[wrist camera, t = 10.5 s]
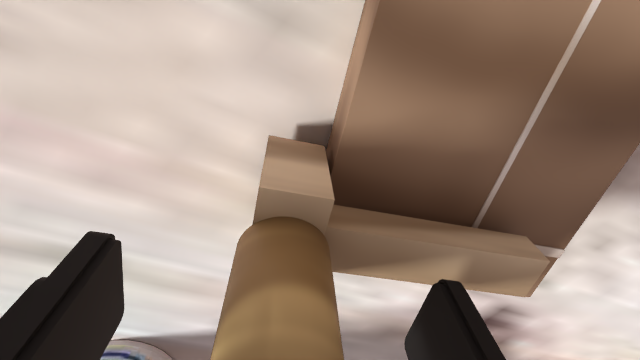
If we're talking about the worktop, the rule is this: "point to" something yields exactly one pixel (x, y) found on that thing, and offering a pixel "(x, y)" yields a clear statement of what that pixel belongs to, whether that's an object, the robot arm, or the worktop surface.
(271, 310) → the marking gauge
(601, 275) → the worktop surface
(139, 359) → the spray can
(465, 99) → the walnut board
